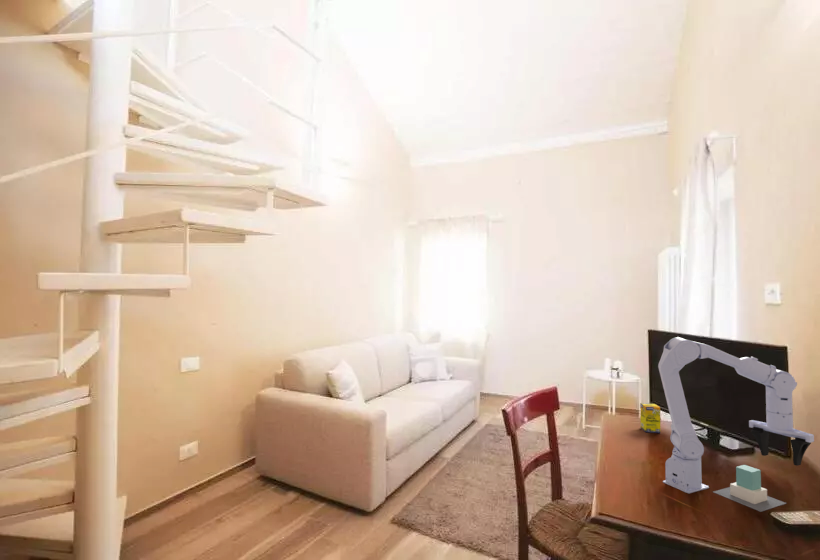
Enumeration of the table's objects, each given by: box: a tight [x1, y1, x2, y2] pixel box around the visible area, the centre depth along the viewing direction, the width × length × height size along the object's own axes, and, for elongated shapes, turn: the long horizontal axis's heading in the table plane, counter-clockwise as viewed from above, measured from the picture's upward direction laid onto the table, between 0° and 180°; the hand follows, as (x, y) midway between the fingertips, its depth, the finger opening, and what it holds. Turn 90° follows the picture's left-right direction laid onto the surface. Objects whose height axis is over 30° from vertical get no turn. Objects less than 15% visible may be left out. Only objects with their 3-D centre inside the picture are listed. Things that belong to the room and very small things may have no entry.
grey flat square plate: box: [713, 486, 787, 513], centre depth 117 cm, size 12×12×1 cm
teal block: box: [735, 464, 762, 491], centre depth 117 cm, size 4×4×5 cm
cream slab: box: [729, 481, 768, 504], centre depth 117 cm, size 6×6×3 cm
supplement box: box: [639, 402, 661, 434], centre depth 176 cm, size 6×6×11 cm
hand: (780, 459), depth 119 cm, fingers open, 7 cm apart
